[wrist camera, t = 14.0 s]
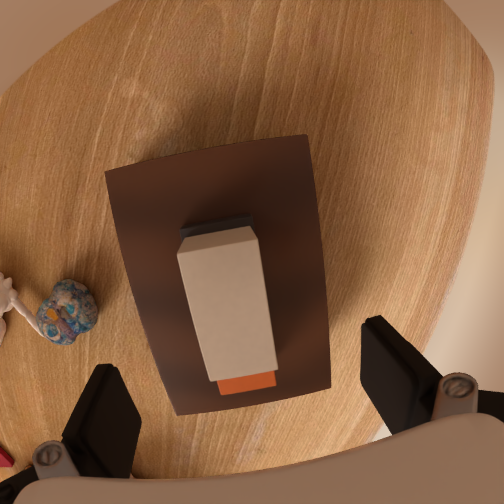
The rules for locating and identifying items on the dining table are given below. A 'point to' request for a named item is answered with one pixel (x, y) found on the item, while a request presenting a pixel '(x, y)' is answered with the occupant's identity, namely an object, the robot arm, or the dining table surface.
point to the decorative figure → (12, 305)
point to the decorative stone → (67, 312)
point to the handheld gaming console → (5, 459)
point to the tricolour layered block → (229, 302)
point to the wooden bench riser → (271, 250)
